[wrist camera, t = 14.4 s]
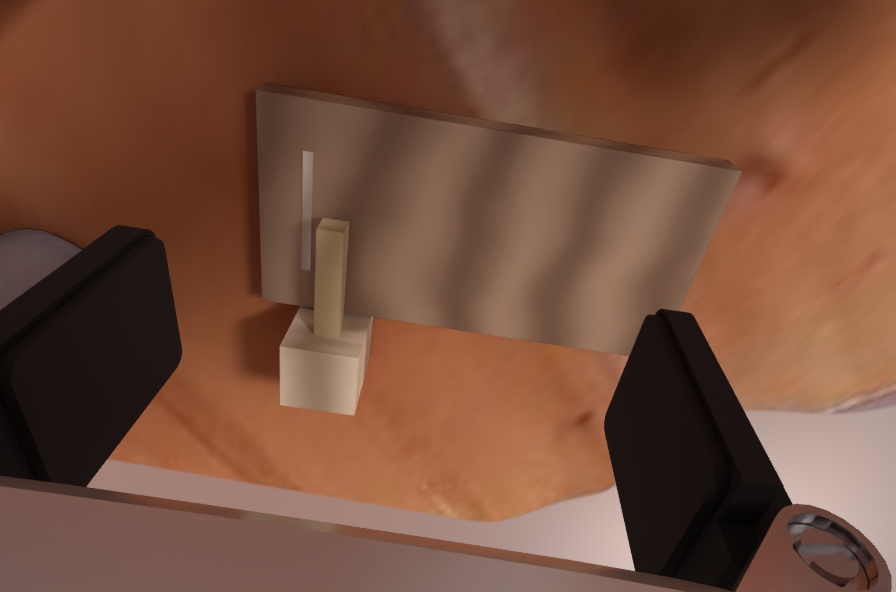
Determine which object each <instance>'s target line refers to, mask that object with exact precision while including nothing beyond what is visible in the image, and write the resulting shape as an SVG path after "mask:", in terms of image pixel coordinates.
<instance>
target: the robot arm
mask: <svg viewBox="0 0 896 592" xmlns="http://www.w3.org/2000/svg"><path fill="white" fill-rule="evenodd" d="M181 356H182V346H181V340H180V334H179V328H178V322H177V317H176V311H175V305H174V299H173V293H172V287H171V281H170V276H169V270H168V264H167V258H166V252H165V247H164V243H163V242H162V240H160V239H157V238H156V236H155V234H154V233H153V232H152V231H151V230H148V229H141V228H135V227H128V226H122V225H117V226H115V227H113V228H112V229H110V230H109V231H108V232H106V233H105V234H103V235H102V236H101V237H99V238H98V239H97V240H95V241H94V242H93V243H91V244H90V245H88V246H87V247H86V248H84V249H83V250H82V251H80V252H79V253H78V254H76V255H75V256H73V257H72V258H71V259H69V260H68V261H67V262H65V263H64V264H63V265H61V266H60V267H58V268H57V269H56V270H54V271H53V272H52V273H50V274H49V275H47V276H46V277H45V278H43V279H42V280H41V281H39V282H38V283H37V284H35V285H34V286H32V287H31V288H30V289H28V290H27V291H26V292H24V293H23V294H22V295H20V296H19V297H17V298H16V299H15V300H13V301H12V302H11V303H9V304H8V305H7V306H5V307H4V308H2V309H1V310H0V592H891V574H890V571H889V569H888V566H887V564H886V561H885V560H884V559H883V557H882V556H881V554H880V553H879V551H878V550H877V549H876V548H875V546H874V545H873V544H872V543H871V542H870V541H869V540H868V539H867V538H866V537H865V536H864V535H863V534H862V533H861V532H860V531H859V530H857V529H856V528H855V527H853V526H852V525H850V524H849V523H848V522H846V521H845V520H844V519H842V518H840V517H838V516H836V515H834V514H832V513H831V512H829V511H827V510H824V509H821V508H817V507H814V506H811V505H801V504H794V505H793V504H792V502H791V500H790V498H789V497H788V495H787V493H786V491H785V489H784V486H783V484H782V482H781V480H780V478H779V476H778V474H777V472H776V471H775V469H774V467H773V465H772V463H771V461H770V460H769V457H768V455H767V454H766V452H765V450H764V448H763V446H762V444H761V442H760V440H759V439H758V437H757V435H756V433H755V431H754V429H753V427H752V426H751V423H750V422H749V420H748V418H747V416H746V414H745V412H744V410H743V408H742V406H741V404H740V403H739V401H738V399H737V397H736V395H735V393H734V391H733V389H732V387H731V386H730V384H729V382H728V380H727V378H726V376H725V374H724V372H723V370H722V369H721V367H720V365H719V363H718V361H717V359H716V357H715V355H714V353H713V352H712V350H711V348H710V346H709V344H708V342H707V340H706V338H705V336H704V335H703V333H702V331H701V329H700V327H699V325H698V323H697V321H696V319H695V318H694V316H693V315H692V314H691V313H687V312H681V311H674V310H668V309H659V310H658V311H657V312H656V313H655V315H651V314H649V315H647V316H646V317H645V319H644V321H643V324H642V326H641V328H640V331H639V333H638V336H637V338H636V341H635V343H634V346H633V348H632V351H631V353H630V356H629V358H628V361H627V363H626V366H625V368H624V370H623V373H622V375H621V378H620V380H619V383H618V385H617V388H616V390H615V393H614V395H613V398H612V400H611V403H610V405H609V408H608V410H607V413H606V416H605V422H604V430H605V436H606V440H607V445H608V450H609V454H610V459H611V463H612V468H613V472H614V477H615V481H616V486H617V490H618V495H619V499H620V504H621V509H622V513H623V518H624V522H625V526H626V531H627V536H628V540H629V545H630V550H631V554H632V558H633V563H634V568H635V571H630V570H625V569H619V568H613V567H607V566H602V565H596V564H590V563H584V562H578V561H572V560H567V559H560V558H554V557H547V556H541V555H534V554H528V553H521V552H515V551H509V550H502V549H496V548H490V547H483V546H477V545H470V544H464V543H457V542H451V541H444V540H438V539H432V538H425V537H419V536H412V535H406V534H399V533H392V532H386V531H379V530H372V529H366V528H360V527H352V526H346V525H340V524H332V523H326V522H319V521H313V520H306V519H300V518H293V517H286V516H280V515H272V514H266V513H259V512H253V511H246V510H240V509H233V508H226V507H219V506H212V505H206V504H199V503H191V502H185V501H178V500H171V499H164V498H157V497H150V496H143V495H136V494H129V493H122V492H116V491H109V490H102V489H95V488H88V487H86V486H87V485H88V484H89V482H90V481H91V480H92V478H93V477H94V476H95V474H96V473H97V472H98V471H99V469H100V468H101V466H102V465H103V464H104V463H105V461H106V460H107V459H108V457H109V456H110V455H111V453H112V452H113V451H114V450H115V448H116V447H117V446H118V444H119V443H120V442H121V440H122V439H123V438H124V436H125V435H126V434H127V432H128V431H129V430H130V428H131V427H132V426H133V425H134V423H135V422H136V421H137V419H138V418H139V417H140V415H141V414H142V413H143V411H144V410H145V409H146V407H147V406H148V405H149V404H150V402H151V401H152V400H153V398H154V397H155V396H156V394H157V393H158V392H159V390H160V389H161V388H162V386H163V385H164V384H165V382H166V381H167V380H168V379H169V377H170V376H171V375H172V373H173V372H174V371H175V369H176V368H177V366H178V365H179V363H180V360H181Z"/></svg>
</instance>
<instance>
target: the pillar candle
mask: <svg viewBox="0 0 896 592" xmlns="http://www.w3.org/2000/svg"><path fill="white" fill-rule="evenodd" d="M80 251H82V249H80V248H78V247H76V246H75V245H73V244H71V243H69V242H67V241H65V240H63V239H61V238H59V237H57V236H55V235H53V234H51V233H48V232H45V231H39V230H34V229H21V230H11V231H8V232H6V233H3V234H1V235H0V310H1V309H2V308H4V307H5V306H7V305H8V304H9V303H11V302H12V301H13V300H15V299H16V298H17V297H19V296H20V295H22V294H23V293H24V292H26V291H27V290H28V289H30V288H31V287H32V286H34V285H35V284H37V283H38V282H39V281H41V280H42V279H43V278H45V277H46V276H47V275H49V274H50V273H52V272H53V271H54V270H56V269H57V268H58V267H60V266H61V265H63V264H64V263H65V262H67V261H68V260H69V259H71V258H72V257H73V256H75V255H76V254H78V253H79V252H80Z"/></svg>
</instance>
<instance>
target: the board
mask: <svg viewBox="0 0 896 592" xmlns="http://www.w3.org/2000/svg"><path fill="white" fill-rule="evenodd" d="M255 91H256V122H257V153H258V185H259V216H260V247H261V278H262V300H265V301H271V302H278V303H284V304H291V305H297V306H304V307H311V308H314V300H315V264H316V229H317V227H318V225H319V224H320V222H321V220H322V219H323V218H329V219H341V220H342V221H348V222H349V235H348V251H347V267H346V284H345V300H344V313H350V314H357V315H363V316H370V317H376V318H383V319H389V320H396V321H403V322H409V323H416V324H422V325H429V326H435V327H442V328H449V329H455V330H462V331H468V332H475V333H481V334H488V335H494V336H501V337H508V338H514V339H521V340H527V341H534V342H540V343H547V344H554V345H560V346H567V347H573V348H580V349H586V350H593V351H600V352H606V353H613V354H619V355H626V356H630V353H631V351H632V348H633V346H634V343H635V341H636V338H637V336H638V333H639V331H640V328H641V326H642V324H643V321H644V319H645V317H646V316H647V315H649V314H651V315H655V313H656V312H657V311H658V310H659V309H668V310H674V311H679V310H680V308H681V306H682V303H683V301H684V299H685V297H686V295H687V292H688V290H689V288H690V286H691V284H692V281H693V279H694V277H695V275H696V272H697V270H698V268H699V266H700V264H701V261H702V259H703V257H704V255H705V252H706V250H707V248H708V246H709V244H710V241H711V239H712V237H713V235H714V233H715V230H716V228H717V226H718V224H719V221H720V219H721V217H722V215H723V213H724V210H725V208H726V206H727V204H728V202H729V199H730V197H731V195H732V193H733V190H734V188H735V186H736V184H737V182H738V179H739V177H740V175H741V173H742V171H741V170H740V169H738V168H737V167H736V166H735V165H733V164H732V163H731V162H730V161H728V160H722V159H716V158H710V157H704V156H698V155H692V154H687V153H681V152H675V151H669V150H663V149H657V148H651V147H645V146H639V145H633V144H627V143H621V142H615V141H609V140H603V139H597V138H591V137H585V136H580V135H574V134H568V133H562V132H556V131H550V130H544V129H538V128H532V127H526V126H520V125H514V124H508V123H502V122H496V121H490V120H484V119H478V118H473V117H467V116H461V115H455V114H449V113H443V112H437V111H431V110H425V109H419V108H413V107H407V106H401V105H395V104H389V103H383V102H377V101H371V100H366V99H360V98H354V97H348V96H342V95H336V94H330V93H324V92H318V91H312V90H306V89H300V88H294V87H288V86H282V85H276V84H270V83H266V84H265V85H263V86H261V87H259V88H258V89H256V90H255Z"/></svg>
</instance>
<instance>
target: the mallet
mask: <svg viewBox="0 0 896 592" xmlns="http://www.w3.org/2000/svg"><path fill="white" fill-rule="evenodd" d="M348 235H349V222H348V221H342V220H341V219H329V218H323V219H322V220H321V222H320V224H319V225H318V227H317V229H316V264H315V300H314V308H311V307H304V306H300V308H299V310H298V312H297V314H296V315H295V317H294V319H293V321H292V323H291V325H290V327H289V329H288V331H287V333H286V335H285V337H284V339H283V341H282V343H281V345H280V405H284V406H290V407H297V408H304V409H311V410H318V411H325V412H332V413H339V414H346V415H353V416H354V414H355V410H356V406H357V403H358V399H359V395H360V392H361V388H362V384H363V381H364V377H365V373H366V370H367V366H368V362H369V355H370V344H371V334H372V324H373V317H370V316H363V315H357V314H350V313H344V300H345V284H346V267H347V251H348Z"/></svg>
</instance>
